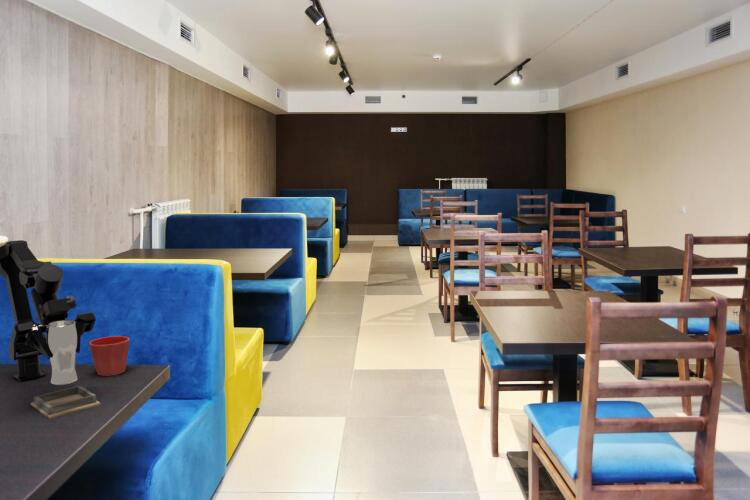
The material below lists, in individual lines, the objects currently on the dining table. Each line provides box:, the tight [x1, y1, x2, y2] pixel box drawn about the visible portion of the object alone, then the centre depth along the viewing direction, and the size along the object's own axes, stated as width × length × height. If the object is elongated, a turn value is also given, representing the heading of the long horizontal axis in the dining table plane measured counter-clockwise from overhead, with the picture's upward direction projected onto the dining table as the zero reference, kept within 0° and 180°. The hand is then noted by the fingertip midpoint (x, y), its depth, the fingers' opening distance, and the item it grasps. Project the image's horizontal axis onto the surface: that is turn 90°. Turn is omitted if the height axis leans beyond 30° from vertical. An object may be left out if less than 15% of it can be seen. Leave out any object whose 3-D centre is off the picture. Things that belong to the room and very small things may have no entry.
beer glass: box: [45, 319, 79, 386], centre depth 151 cm, size 7×7×15 cm
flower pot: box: [88, 335, 130, 377], centre depth 177 cm, size 11×11×10 cm
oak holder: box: [30, 385, 102, 420], centre depth 152 cm, size 14×12×2 cm
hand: (64, 355), depth 150 cm, fingers closed on beer glass, 6 cm apart
